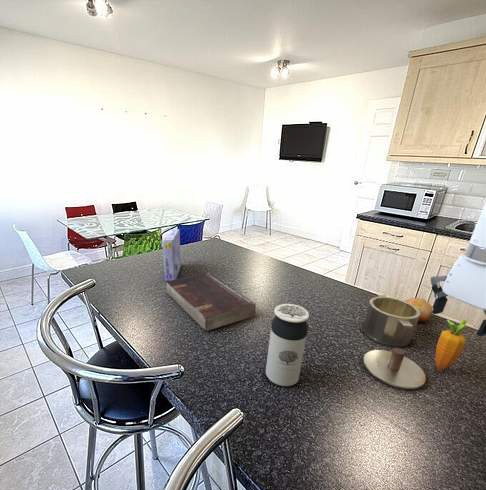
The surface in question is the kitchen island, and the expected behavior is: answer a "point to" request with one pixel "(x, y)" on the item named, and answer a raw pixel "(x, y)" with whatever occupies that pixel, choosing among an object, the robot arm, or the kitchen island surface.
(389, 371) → the pot lid
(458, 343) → the carrot
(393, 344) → the pot
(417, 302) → the fruit
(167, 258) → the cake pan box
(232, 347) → the kitchen island surface
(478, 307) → the robot arm
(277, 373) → the travel mug
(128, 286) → the kitchen island surface
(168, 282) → the hardback book
